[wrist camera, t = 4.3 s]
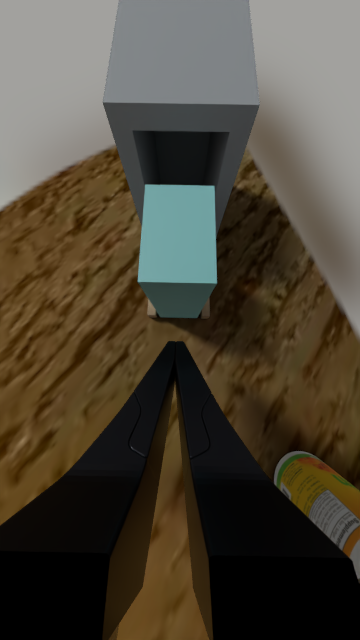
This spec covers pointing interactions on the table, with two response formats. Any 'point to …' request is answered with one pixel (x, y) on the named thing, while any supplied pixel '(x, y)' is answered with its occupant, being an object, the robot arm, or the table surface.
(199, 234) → the slider
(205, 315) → the track
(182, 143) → the socket
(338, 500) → the supplement bottle
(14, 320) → the table surface
